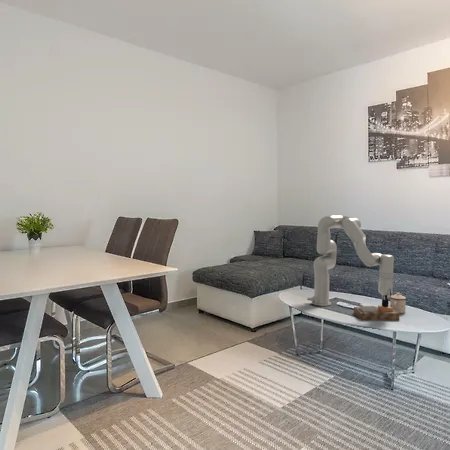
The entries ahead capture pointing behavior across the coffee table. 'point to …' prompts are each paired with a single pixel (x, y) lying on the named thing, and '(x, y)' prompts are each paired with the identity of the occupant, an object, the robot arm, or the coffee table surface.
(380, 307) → the salmon orange block
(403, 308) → the teacup with lid
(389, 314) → the brown slotted base
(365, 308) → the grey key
